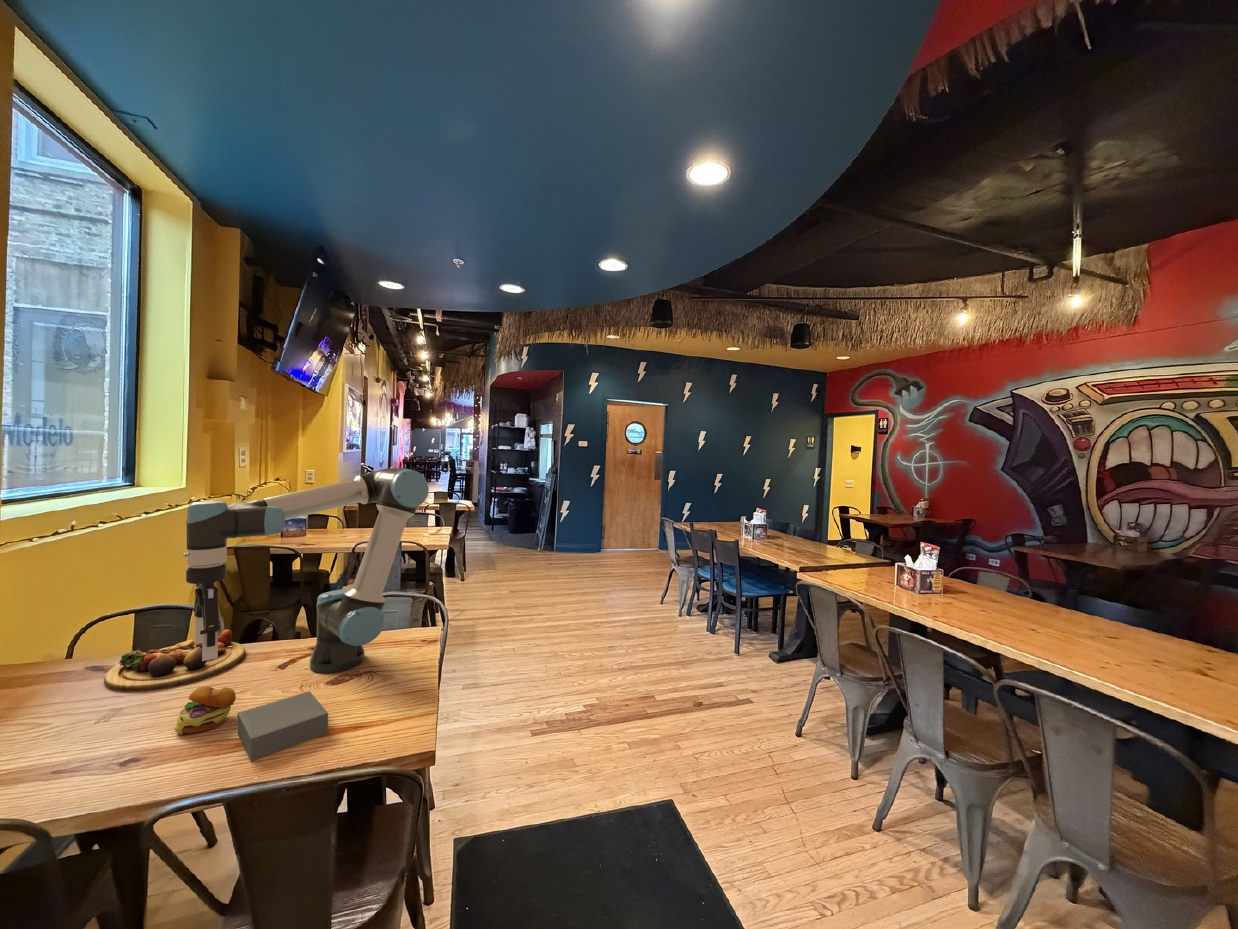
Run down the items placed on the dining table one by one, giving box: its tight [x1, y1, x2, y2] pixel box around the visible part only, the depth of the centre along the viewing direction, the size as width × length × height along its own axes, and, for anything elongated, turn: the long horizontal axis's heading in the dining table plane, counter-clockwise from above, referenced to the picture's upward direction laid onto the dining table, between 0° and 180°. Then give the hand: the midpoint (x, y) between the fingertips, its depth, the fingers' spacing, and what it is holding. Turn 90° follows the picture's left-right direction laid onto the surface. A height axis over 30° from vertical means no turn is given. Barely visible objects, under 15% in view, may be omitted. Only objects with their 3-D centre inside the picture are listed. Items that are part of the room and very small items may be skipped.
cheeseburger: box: [174, 685, 237, 736], centre depth 119 cm, size 10×11×10 cm
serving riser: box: [236, 690, 329, 762], centre depth 116 cm, size 15×15×5 cm
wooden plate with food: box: [103, 629, 246, 692], centre depth 149 cm, size 32×32×8 cm
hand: (205, 650), depth 119 cm, fingers open, 13 cm apart
